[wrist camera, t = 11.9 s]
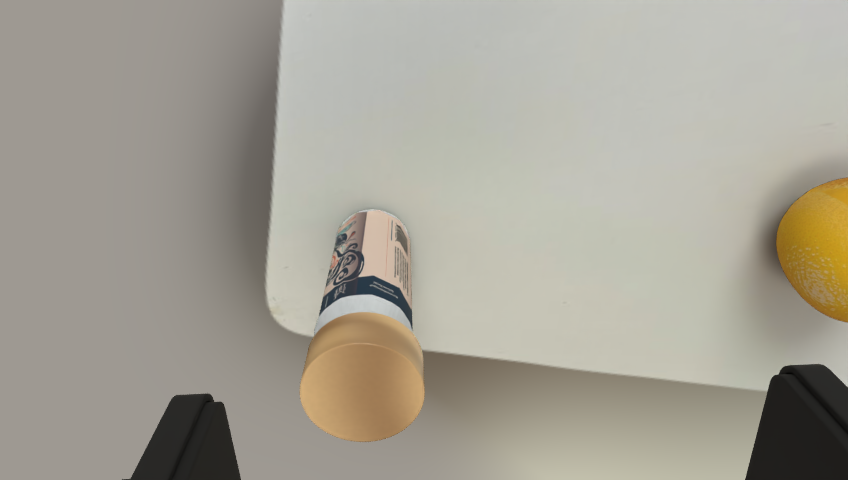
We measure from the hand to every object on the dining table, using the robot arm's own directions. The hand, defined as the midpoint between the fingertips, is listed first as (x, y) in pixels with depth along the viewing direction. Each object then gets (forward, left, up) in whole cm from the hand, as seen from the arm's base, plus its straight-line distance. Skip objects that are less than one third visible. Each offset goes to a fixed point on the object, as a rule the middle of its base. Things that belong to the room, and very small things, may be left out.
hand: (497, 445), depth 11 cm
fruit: (+25, -10, -28) cm, 39 cm away
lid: (-4, -10, -16) cm, 19 cm away
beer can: (-4, -9, -28) cm, 30 cm away
